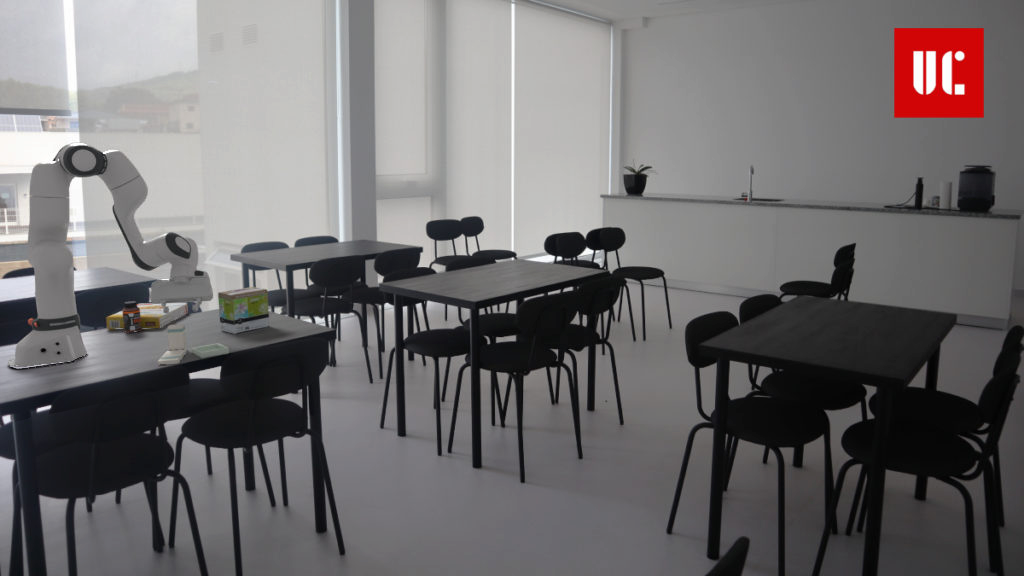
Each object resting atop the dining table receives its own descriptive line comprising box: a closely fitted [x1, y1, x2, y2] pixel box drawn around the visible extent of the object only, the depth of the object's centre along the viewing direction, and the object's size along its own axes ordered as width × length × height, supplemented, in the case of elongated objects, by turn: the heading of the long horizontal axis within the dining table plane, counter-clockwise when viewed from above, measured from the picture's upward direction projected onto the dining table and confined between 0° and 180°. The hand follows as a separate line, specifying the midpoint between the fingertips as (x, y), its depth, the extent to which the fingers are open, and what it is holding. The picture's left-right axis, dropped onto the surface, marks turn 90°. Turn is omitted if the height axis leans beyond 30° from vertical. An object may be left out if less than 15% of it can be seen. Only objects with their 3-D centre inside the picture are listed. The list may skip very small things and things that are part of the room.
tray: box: [191, 343, 230, 359], centre depth 257 cm, size 9×9×2 cm
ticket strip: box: [157, 349, 187, 366], centre depth 251 cm, size 6×13×1 cm, turn 11°
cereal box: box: [105, 302, 189, 330], centre depth 307 cm, size 20×6×28 cm
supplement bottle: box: [121, 300, 143, 333], centre depth 289 cm, size 6×6×11 cm
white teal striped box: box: [166, 323, 188, 351], centre depth 259 cm, size 5×4×9 cm
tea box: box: [217, 286, 270, 335], centre depth 290 cm, size 15×10×15 cm
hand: (180, 311), depth 266 cm, fingers open, 8 cm apart
